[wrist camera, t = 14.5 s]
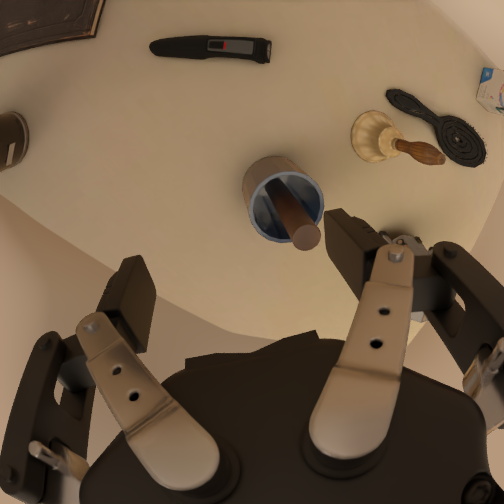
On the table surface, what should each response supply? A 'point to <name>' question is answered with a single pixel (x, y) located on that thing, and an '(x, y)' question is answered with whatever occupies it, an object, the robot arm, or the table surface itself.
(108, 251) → the table surface
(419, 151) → the hand bell
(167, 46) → the electric trimmer
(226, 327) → the table surface
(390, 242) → the figurine
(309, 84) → the table surface
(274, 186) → the stick
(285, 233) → the cup
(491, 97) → the ink box
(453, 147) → the hairbrush
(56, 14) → the hardcover book
